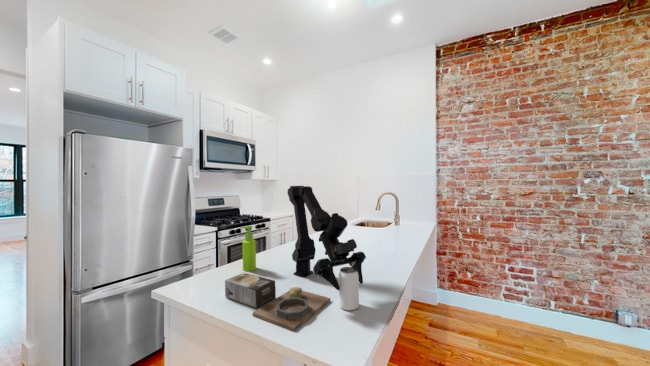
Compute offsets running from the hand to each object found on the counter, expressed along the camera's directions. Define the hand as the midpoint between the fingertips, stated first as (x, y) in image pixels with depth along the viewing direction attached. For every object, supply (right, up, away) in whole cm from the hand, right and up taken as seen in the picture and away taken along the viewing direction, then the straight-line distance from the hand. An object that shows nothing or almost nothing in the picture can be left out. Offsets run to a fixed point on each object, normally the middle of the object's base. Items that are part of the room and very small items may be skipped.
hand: (350, 286), depth 82 cm
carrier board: (-19, -7, 0) cm, 20 cm away
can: (-1, -7, +1) cm, 7 cm away
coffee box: (-42, -4, +12) cm, 44 cm away
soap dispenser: (-44, -7, +37) cm, 58 cm away
